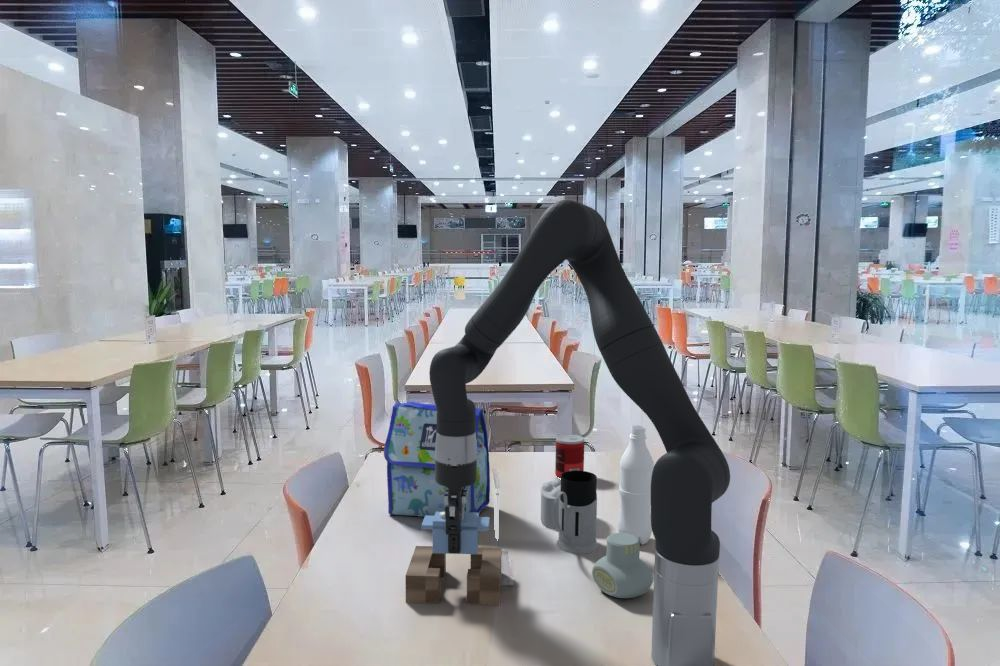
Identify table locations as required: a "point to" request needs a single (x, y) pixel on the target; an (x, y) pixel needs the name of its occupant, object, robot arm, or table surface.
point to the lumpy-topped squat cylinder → (549, 502)
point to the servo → (468, 534)
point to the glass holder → (577, 512)
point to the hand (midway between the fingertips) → (455, 546)
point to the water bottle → (636, 487)
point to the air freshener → (622, 568)
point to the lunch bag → (426, 463)
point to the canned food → (569, 454)
